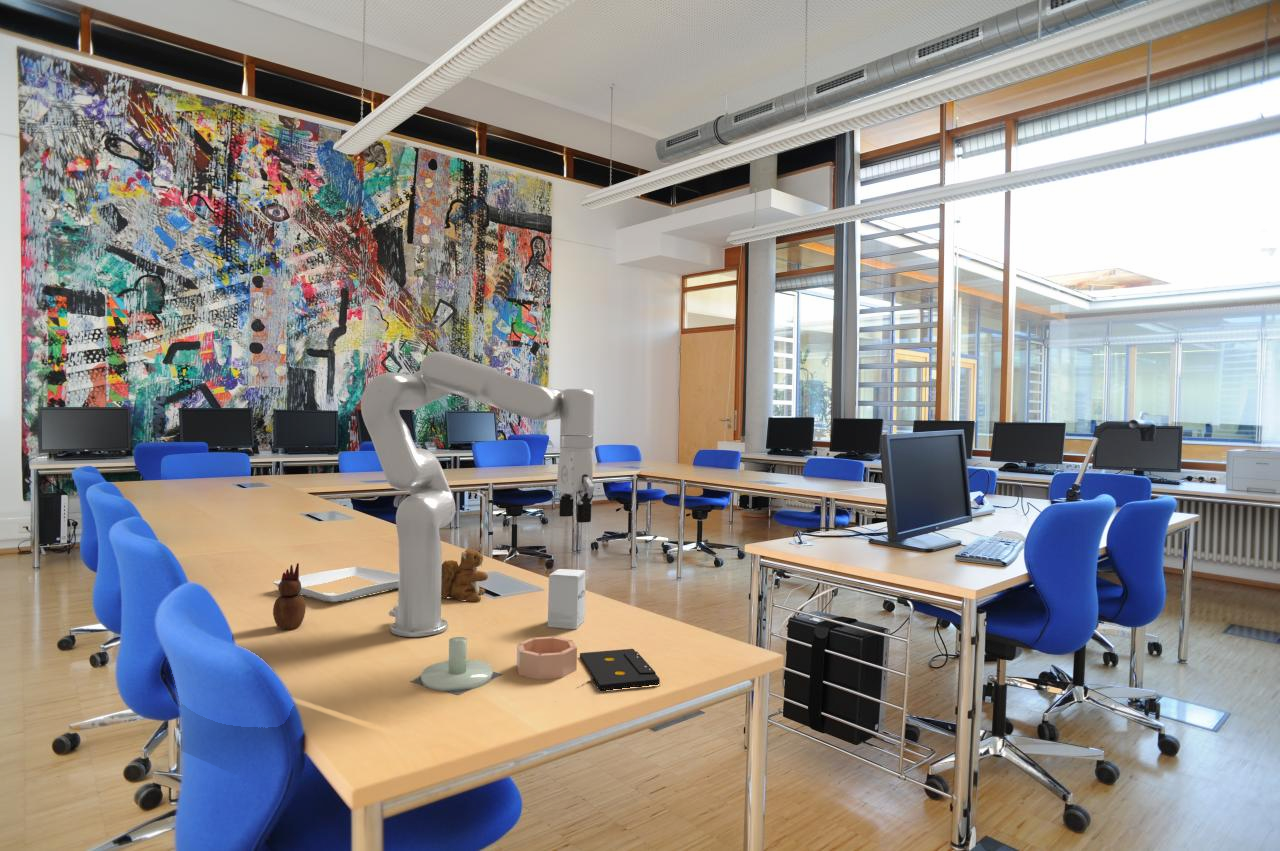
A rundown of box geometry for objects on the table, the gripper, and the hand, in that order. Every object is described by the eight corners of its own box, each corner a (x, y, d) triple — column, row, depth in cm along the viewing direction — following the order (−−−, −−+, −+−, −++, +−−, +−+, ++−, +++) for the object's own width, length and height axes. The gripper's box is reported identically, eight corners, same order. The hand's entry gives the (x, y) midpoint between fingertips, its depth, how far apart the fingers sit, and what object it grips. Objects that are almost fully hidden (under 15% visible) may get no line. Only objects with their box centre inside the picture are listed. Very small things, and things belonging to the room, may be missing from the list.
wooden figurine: (310, 626, 165) (311, 562, 165) (288, 633, 160) (289, 566, 160) (290, 622, 168) (290, 559, 168) (268, 628, 163) (268, 563, 163)
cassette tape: (659, 688, 132) (660, 677, 132) (599, 695, 129) (600, 683, 129) (632, 657, 150) (633, 647, 150) (579, 662, 146) (579, 651, 146)
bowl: (505, 674, 137) (506, 648, 137) (541, 657, 146) (541, 633, 146) (552, 685, 131) (552, 659, 131) (585, 668, 141) (586, 643, 141)
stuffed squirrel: (481, 602, 189) (482, 553, 189) (429, 601, 190) (430, 552, 189) (491, 593, 199) (491, 546, 199) (441, 592, 200) (442, 545, 199)
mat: (409, 684, 131) (409, 681, 131) (456, 665, 141) (456, 662, 141) (458, 698, 125) (458, 694, 125) (503, 677, 135) (503, 674, 135)
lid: (405, 681, 131) (406, 642, 130) (456, 661, 142) (456, 625, 142) (458, 696, 124) (458, 655, 124) (506, 673, 135) (507, 636, 135)
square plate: (416, 589, 204) (416, 575, 204) (330, 610, 181) (330, 594, 181) (357, 576, 218) (357, 563, 218) (270, 594, 195) (270, 580, 195)
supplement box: (577, 629, 166) (577, 576, 166) (546, 627, 168) (547, 574, 168) (585, 621, 174) (586, 569, 173) (556, 618, 175) (557, 567, 175)
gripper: (546, 441, 166) (545, 514, 166) (577, 445, 151) (575, 525, 151) (576, 442, 169) (574, 513, 170) (608, 445, 154) (606, 523, 154)
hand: (574, 519), depth 160 cm, fingers open, 9 cm apart
